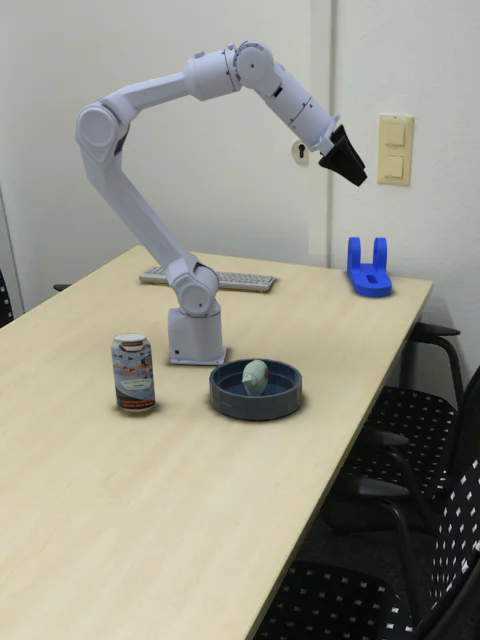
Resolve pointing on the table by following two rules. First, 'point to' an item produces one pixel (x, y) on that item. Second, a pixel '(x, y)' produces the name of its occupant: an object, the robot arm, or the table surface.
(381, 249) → the bracket
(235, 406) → the bowl
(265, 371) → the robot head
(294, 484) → the table surface
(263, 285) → the keyboard
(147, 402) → the beverage can
